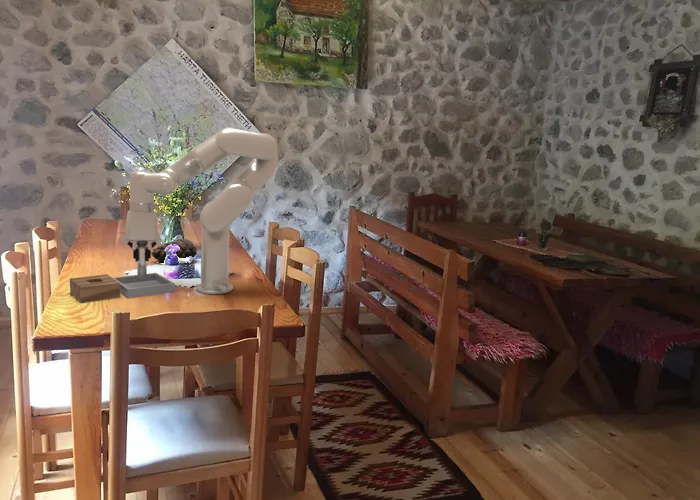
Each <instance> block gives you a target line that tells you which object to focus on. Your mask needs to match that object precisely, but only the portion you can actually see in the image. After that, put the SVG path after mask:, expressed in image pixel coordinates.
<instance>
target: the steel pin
mask: <svg viewBox="0 0 700 500" xmlns="http://www.w3.org/2000/svg"><path fill="white" fill-rule="evenodd" d="M136 247H137V250H138V261H137V262H136V265H137V267H136V269H137V274H136V275H137V278H140V279H144V278H147V274H148V271H147V270H148V269H147V268H148V267H147V264H148V261H146V250H147V247H148V243H147V241H145V240H139V241H137V245H136Z"/></svg>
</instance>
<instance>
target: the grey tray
mask: <svg viewBox="0 0 700 500" xmlns="http://www.w3.org/2000/svg"><path fill="white" fill-rule="evenodd" d="M112 278H113V279H115V280H116V281H118V282H119V283H120V294H122V295H123V296H125V297H126V298H127V299H131V298H140V297H146V296H152V295H159V294H160V295H161V294H168V293H174V292H176V289H175V288H176V283H175V282H174V281H172V280H170V279H168V278H166V277H165V276H163V275H161V274H160V273H157V272H149V273H147V278H144V279H140V278H137V274H135V275H125V276H118V277H117V276H116V277H115V276H114V277H112Z"/></svg>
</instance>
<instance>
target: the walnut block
mask: <svg viewBox="0 0 700 500" xmlns="http://www.w3.org/2000/svg"><path fill="white" fill-rule="evenodd" d="M113 278H114V277H112V276H111V275H109V274H108V273H107V274H99V275H87V276H79V277H71V278H69V292H70V293H69V294H71V295H72V296H73V297H74V298H75V299H77V300H78V302H80V304H82V303H90V302H95V301H103V300H112V299H119V298H121V293H120V283H119V282H118V281H116V280H115V279H113Z"/></svg>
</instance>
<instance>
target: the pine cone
mask: <svg viewBox="0 0 700 500" xmlns="http://www.w3.org/2000/svg"><path fill="white" fill-rule="evenodd" d="M170 244H176V245H178V246H179V247H180V250H179V251H177V252H176V254H177V256H178V257H179V258H186V257H189V256H192V257H194V258H195V257H196V255H198V253H197V249H196V246H195V245H194V243H193V241H191V240H189V239H186V238H180V239H179V238H178V239H176V240H172V241H169V242H165V243H164V244H162V245H158V247H153V248H152V251H151V257H153V258H154V259H155V260H157V262H159V263H164V260H165V257H166V252H165V251H164V250H165V248H166V247H167V246H168V245H170Z"/></svg>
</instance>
